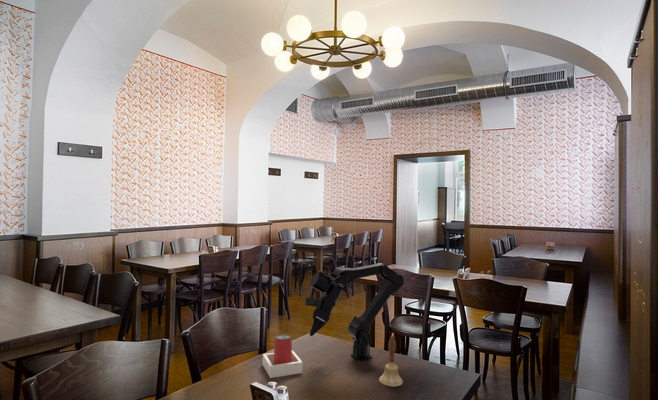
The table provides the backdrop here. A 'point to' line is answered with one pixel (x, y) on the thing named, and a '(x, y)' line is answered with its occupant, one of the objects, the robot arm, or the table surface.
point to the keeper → (282, 366)
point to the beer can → (282, 349)
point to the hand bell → (391, 368)
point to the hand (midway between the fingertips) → (311, 334)
